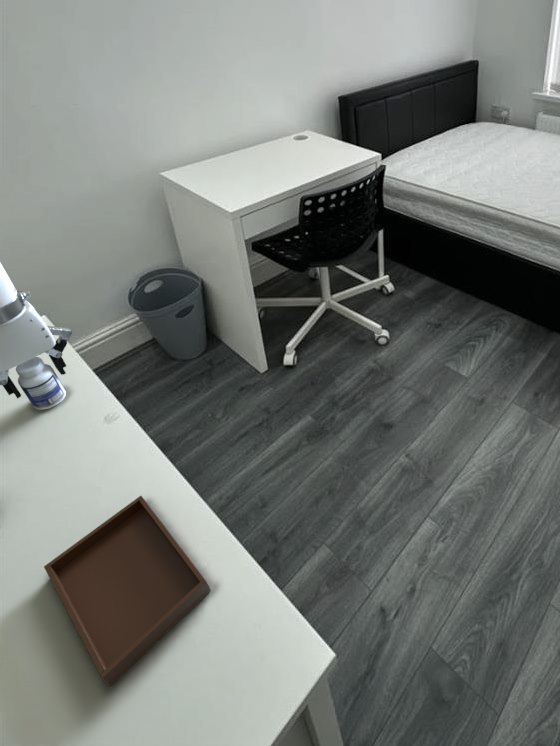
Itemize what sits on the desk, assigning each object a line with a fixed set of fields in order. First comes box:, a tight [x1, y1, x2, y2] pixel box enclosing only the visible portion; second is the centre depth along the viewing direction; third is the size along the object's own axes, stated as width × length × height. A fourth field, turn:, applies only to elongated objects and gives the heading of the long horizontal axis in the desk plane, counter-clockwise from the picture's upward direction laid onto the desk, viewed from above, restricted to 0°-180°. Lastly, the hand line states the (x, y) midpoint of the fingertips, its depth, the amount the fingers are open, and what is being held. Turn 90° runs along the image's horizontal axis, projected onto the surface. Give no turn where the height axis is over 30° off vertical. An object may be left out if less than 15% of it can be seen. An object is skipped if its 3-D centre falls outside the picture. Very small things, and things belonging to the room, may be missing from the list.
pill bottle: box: [15, 356, 67, 411], centre depth 91 cm, size 5×5×10 cm
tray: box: [43, 495, 212, 687], centre depth 66 cm, size 19×13×3 cm
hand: (39, 381), depth 91 cm, fingers open, 6 cm apart
